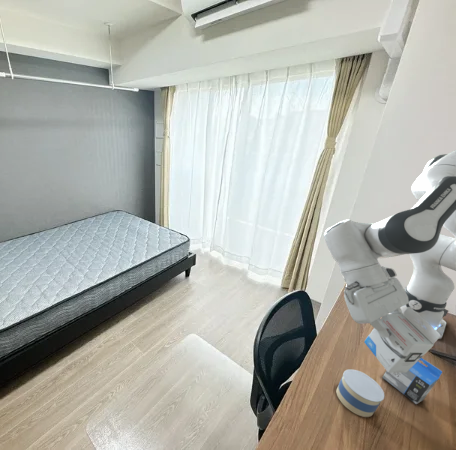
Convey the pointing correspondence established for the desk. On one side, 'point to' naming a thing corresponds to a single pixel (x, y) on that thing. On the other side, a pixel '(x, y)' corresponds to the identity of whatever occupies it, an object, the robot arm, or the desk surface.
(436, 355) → the desk surface
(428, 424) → the desk surface
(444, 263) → the robot arm
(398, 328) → the ink box
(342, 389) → the yogurt tub
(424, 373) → the label tape box
